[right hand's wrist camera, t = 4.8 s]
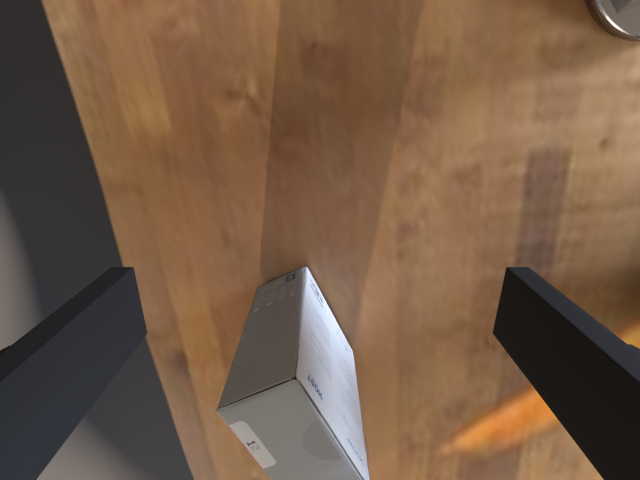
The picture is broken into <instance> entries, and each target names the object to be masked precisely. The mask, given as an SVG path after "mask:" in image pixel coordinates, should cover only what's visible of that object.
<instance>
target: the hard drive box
mask: <svg viewBox="0 0 640 480" xmlns="http://www.w3.org/2000/svg"><path fill="white" fill-rule="evenodd" d="M216 411H217V412H218V414H219V415H220V416H221V417H222V418H223V420H224V421H225V422H226V423H227V425H228V426H229V428H230V429H231V430H232V431H233V433H234V434H235V435H236V436H237V438H238V439H239V440H240V441H241V443H242V444H243V445H244V446H245V448H246V449H247V450H248V451H249V453H250V454H251V455H252V456H253V458H254V459H255V460H256V461H257V462H258V464H259V465H260V466H261V467H262V468H263V470H264V471H265V472H266V473H267V474H268V476H269V477H270V478H271V479H272V480H370V477H369V470H368V462H367V454H366V446H365V439H364V431H363V423H362V416H361V408H360V401H359V393H358V385H357V378H356V370H355V363H354V356H353V351H352V349H351V347H350V345H349V344H348V342H347V340H346V338H345V336H344V334H343V332H342V331H341V329H340V327H339V325H338V323H337V322H336V320H335V318H334V316H333V314H332V312H331V310H330V308H329V307H328V305H327V303H326V301H325V299H324V297H323V295H322V293H321V291H320V289H319V288H318V286H317V284H316V282H315V281H314V279H313V277H312V275H311V273H310V271H309V269H308V268H307V267H302V268H300V269H297V270H295V271H293V272H290V273H288V274H286V275H284V276H282V277H280V278H277V279H275V280H273V281H271V282H268V283H266V284H264V285H262V286H260V287H258V288H257V291H256V294H255V297H254V300H253V303H252V306H251V309H250V312H249V315H248V318H247V321H246V324H245V327H244V330H243V333H242V336H241V339H240V342H239V345H238V348H237V351H236V354H235V357H234V360H233V363H232V366H231V369H230V372H229V375H228V378H227V381H226V384H225V387H224V390H223V393H222V396H221V399H220V402H219V406H218V408H217V409H216Z"/></svg>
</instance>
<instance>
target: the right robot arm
mask: <svg viewBox="0 0 640 480" xmlns="http://www.w3.org/2000/svg"><path fill="white" fill-rule="evenodd" d="M586 3H587V6H588V8H589V10H590V12H591V14H592V16H593V17H594V19H595V20H596V21H597V23H598V24H599V25H600V26H601V27H602V28H603V29H605V30H606V31H607V32H609V33H610V34H612V35H614V36H616V37H619V38H622V39H625V40H631V41H640V0H586ZM146 334H147V330H146V325H145V320H144V315H143V310H142V306H141V301H140V296H139V291H138V287H137V282H136V277H135V272H134V267H111V268H110V269H109V270H108V271H106V272H105V273H104V274H102V275H101V276H100V277H99V278H97V279H96V280H95V281H93V282H92V283H91V284H90V285H88V286H87V287H86V288H84V289H83V290H82V291H81V292H79V293H78V294H77V295H75V296H74V297H73V298H72V299H70V300H69V301H68V302H66V303H65V304H64V305H63V306H61V307H60V308H59V309H58V310H56V311H55V312H54V313H52V314H51V315H50V316H49V317H47V318H46V319H45V320H43V321H42V322H41V323H40V324H38V325H37V326H36V327H34V328H33V329H32V330H31V331H29V332H28V333H27V334H25V335H24V336H23V337H22V338H20V339H19V340H18V341H16V342H15V343H14V344H13V345H11V346H8V347H6V348H4V349H2V350H1V351H0V480H36V479H37V478H38V476H39V475H40V474H41V473H42V471H43V470H44V469H45V467H46V466H47V465H48V463H49V462H50V461H51V459H52V458H53V457H54V455H55V454H56V453H57V451H58V450H59V449H60V447H61V446H62V445H63V444H64V442H65V441H66V440H67V438H68V437H69V436H70V434H71V433H72V432H73V430H74V429H75V428H76V426H77V425H78V424H79V422H80V421H81V420H82V418H83V417H84V416H85V414H86V413H87V412H88V411H89V409H90V408H91V406H92V405H93V404H94V402H95V401H96V400H97V399H98V397H99V396H100V395H101V393H102V392H103V391H104V389H105V388H106V387H107V385H108V384H109V383H110V381H111V380H112V379H113V378H114V376H115V375H116V374H117V372H118V371H119V370H120V368H121V367H122V366H123V364H124V363H125V362H126V360H127V359H128V358H129V356H130V355H131V354H132V352H133V351H134V350H135V349H136V347H137V346H138V345H139V343H140V342H141V341H142V339H143V338H144V337H145V335H146ZM493 334H494V335H495V337H496V338H497V339H498V341H499V342H500V343H501V345H502V346H503V347H504V349H505V350H506V351H507V352H508V354H509V355H510V356H511V358H512V359H513V360H514V362H515V363H516V364H517V366H518V367H519V368H520V370H521V371H522V372H523V374H524V375H525V376H526V378H527V379H528V380H529V382H530V383H531V384H532V385H533V387H534V388H535V389H536V391H537V392H538V393H539V395H540V396H541V397H542V399H543V400H544V401H545V403H546V404H547V405H548V407H549V408H550V409H551V411H552V412H553V413H554V414H555V416H556V417H557V418H558V420H559V421H560V422H561V424H562V425H563V426H564V428H565V429H566V430H567V432H568V433H569V434H570V436H571V437H572V438H573V440H574V441H575V442H576V444H577V445H578V446H579V447H580V449H581V450H582V451H583V453H584V454H585V455H586V457H587V458H588V459H589V461H590V462H591V463H592V465H593V466H594V467H595V469H596V470H597V471H598V473H599V474H600V475H601V477H602V478H603V479H604V480H640V349H639V348H637V347H635V346H633V345H627V344H626V343H625V342H624V341H622V340H621V339H620V338H618V337H617V336H616V335H615V334H613V333H612V332H611V331H609V330H608V329H607V328H606V327H604V326H603V325H602V324H600V323H599V322H598V321H597V320H595V319H594V318H593V317H591V316H590V315H589V314H588V313H586V312H585V311H584V310H583V309H581V308H580V307H579V306H577V305H576V304H575V303H574V302H572V301H571V300H570V299H568V298H567V297H566V296H565V295H563V294H562V293H561V292H559V291H558V290H557V289H556V288H554V287H553V286H552V285H550V284H549V283H548V282H547V281H545V280H544V279H543V278H541V277H540V276H539V275H538V274H536V273H535V272H534V271H532V270H531V269H530V268H529V267H506V272H505V277H504V282H503V287H502V291H501V296H500V301H499V306H498V310H497V315H496V320H495V325H494V330H493Z"/></svg>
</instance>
